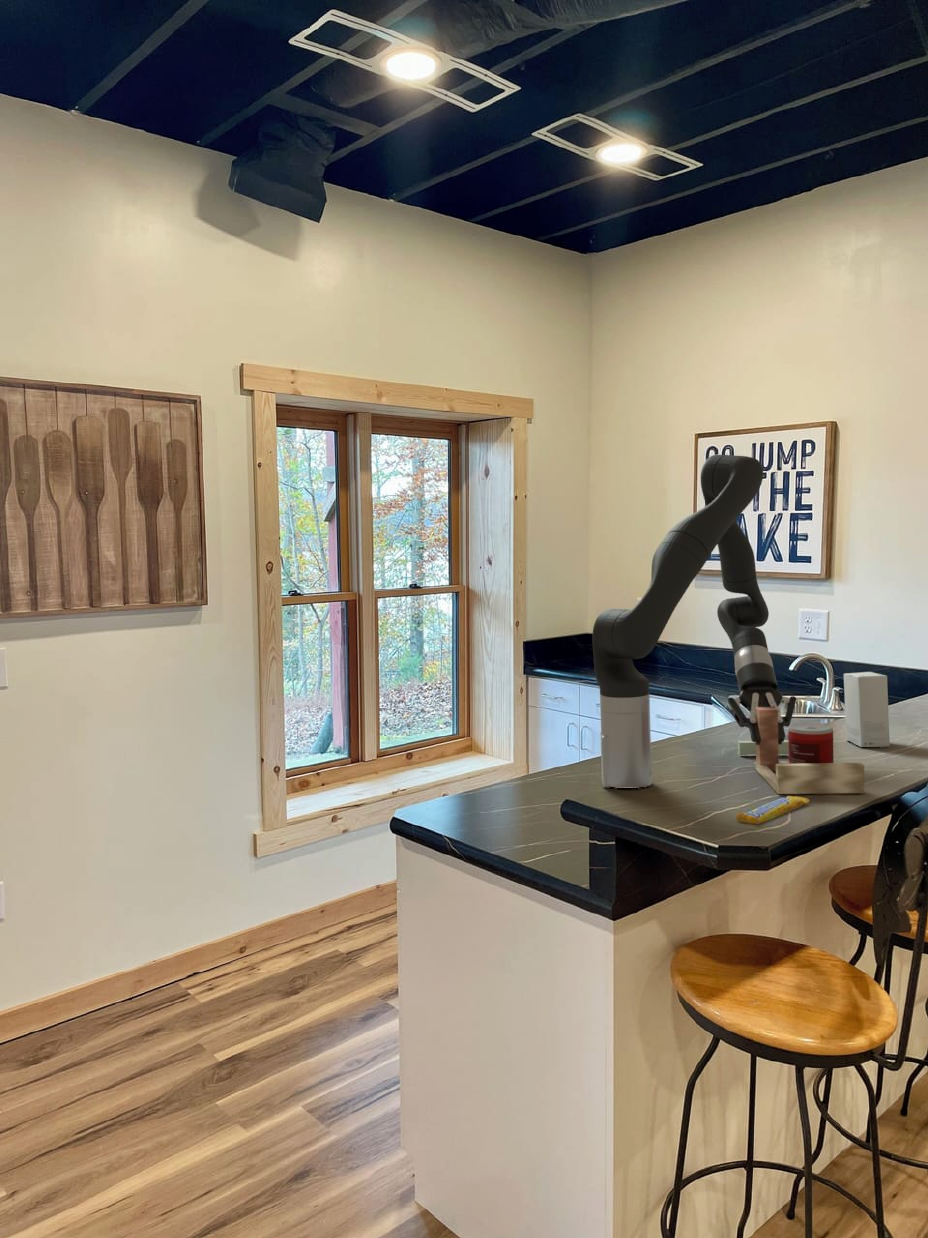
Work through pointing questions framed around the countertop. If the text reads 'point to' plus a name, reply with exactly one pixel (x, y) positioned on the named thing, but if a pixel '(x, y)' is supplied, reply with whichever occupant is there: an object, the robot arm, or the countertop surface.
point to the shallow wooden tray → (800, 765)
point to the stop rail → (750, 747)
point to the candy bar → (772, 810)
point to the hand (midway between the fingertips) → (769, 742)
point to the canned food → (810, 743)
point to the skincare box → (866, 709)
